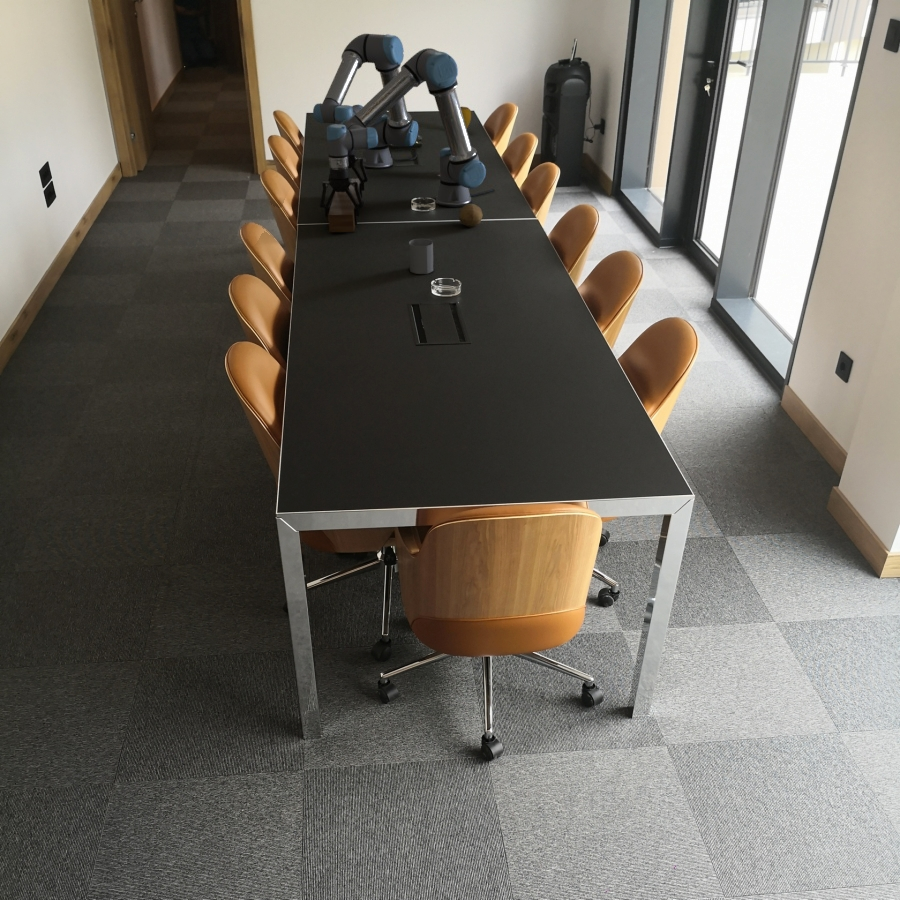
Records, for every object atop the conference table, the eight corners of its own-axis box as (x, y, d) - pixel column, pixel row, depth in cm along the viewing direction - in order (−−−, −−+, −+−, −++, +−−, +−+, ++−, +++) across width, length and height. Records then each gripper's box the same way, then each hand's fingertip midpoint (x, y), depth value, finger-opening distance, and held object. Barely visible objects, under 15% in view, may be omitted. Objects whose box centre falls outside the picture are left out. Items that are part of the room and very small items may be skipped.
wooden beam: (340, 194, 383) (338, 178, 379) (361, 194, 383) (360, 178, 380) (329, 232, 340) (328, 214, 336) (353, 231, 340) (352, 214, 336)
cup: (409, 265, 311) (408, 238, 306) (432, 265, 312) (431, 238, 307) (410, 274, 304) (409, 246, 299) (433, 273, 305) (433, 246, 299)
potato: (480, 219, 356) (481, 200, 351) (484, 230, 344) (484, 210, 340) (457, 220, 355) (457, 200, 351) (459, 231, 343) (459, 211, 339)
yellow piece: (471, 132, 486) (471, 108, 479) (451, 132, 486) (451, 108, 479) (470, 128, 495) (471, 104, 488) (452, 128, 495) (452, 104, 488)
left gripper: (318, 147, 361) (323, 201, 373) (371, 147, 361) (374, 200, 374) (320, 143, 367) (324, 195, 379) (372, 142, 368) (375, 195, 380)
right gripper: (309, 170, 331) (314, 227, 343) (367, 169, 331) (370, 227, 343) (311, 165, 337) (316, 221, 349) (368, 164, 338) (371, 220, 350)
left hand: (349, 198), depth 376 cm, fingers closed on wooden beam, 9 cm apart
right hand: (343, 224), depth 346 cm, fingers closed on wooden beam, 9 cm apart
